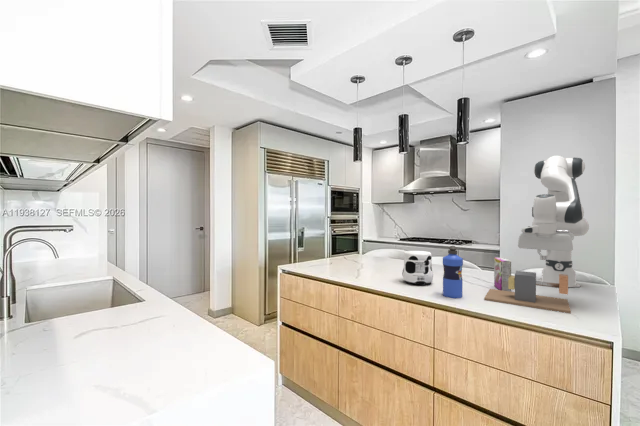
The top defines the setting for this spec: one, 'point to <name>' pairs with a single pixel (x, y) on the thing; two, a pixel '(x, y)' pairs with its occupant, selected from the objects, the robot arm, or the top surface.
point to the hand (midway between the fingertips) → (544, 259)
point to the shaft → (561, 285)
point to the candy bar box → (501, 273)
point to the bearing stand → (527, 295)
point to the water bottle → (452, 274)
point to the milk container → (417, 267)
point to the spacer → (511, 282)
